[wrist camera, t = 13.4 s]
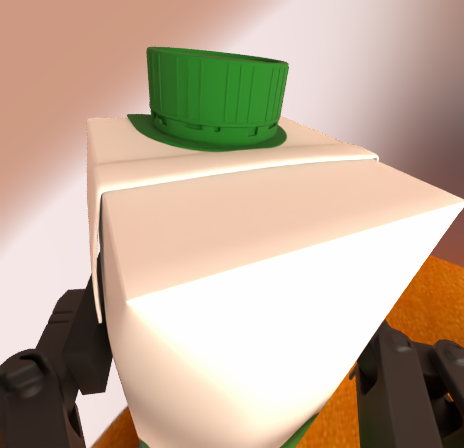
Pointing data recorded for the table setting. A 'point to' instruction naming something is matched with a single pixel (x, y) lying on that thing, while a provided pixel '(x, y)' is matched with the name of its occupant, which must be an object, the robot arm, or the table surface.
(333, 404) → the table surface
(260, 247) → the milk carton
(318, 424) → the table surface
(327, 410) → the table surface
